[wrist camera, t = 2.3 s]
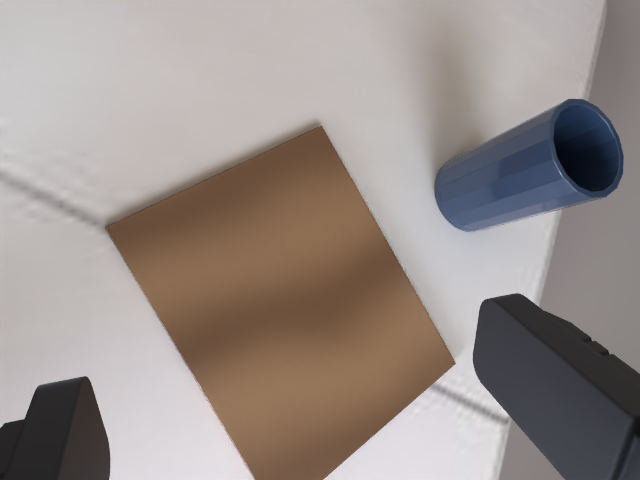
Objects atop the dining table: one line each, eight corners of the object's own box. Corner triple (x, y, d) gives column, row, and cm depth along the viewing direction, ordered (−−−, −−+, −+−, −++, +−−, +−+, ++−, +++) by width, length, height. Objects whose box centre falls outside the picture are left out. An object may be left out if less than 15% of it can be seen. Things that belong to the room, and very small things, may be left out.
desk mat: (105, 229, 27) (104, 227, 27) (319, 127, 34) (321, 125, 33) (276, 515, 28) (278, 519, 28) (452, 363, 35) (456, 363, 34)
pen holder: (421, 177, 36) (532, 121, 26) (472, 146, 39) (591, 84, 29) (459, 245, 37) (583, 215, 27) (507, 210, 39) (637, 171, 29)
